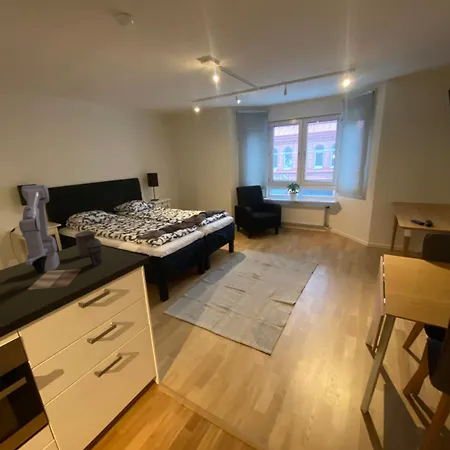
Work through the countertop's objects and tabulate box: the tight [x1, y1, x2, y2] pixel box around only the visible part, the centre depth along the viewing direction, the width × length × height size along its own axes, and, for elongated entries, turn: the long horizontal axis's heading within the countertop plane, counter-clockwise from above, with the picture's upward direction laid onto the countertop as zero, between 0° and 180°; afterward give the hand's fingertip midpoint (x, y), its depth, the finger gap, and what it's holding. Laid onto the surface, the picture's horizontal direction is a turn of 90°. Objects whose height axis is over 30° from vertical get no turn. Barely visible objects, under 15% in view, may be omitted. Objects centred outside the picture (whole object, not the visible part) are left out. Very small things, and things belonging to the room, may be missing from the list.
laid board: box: [49, 268, 82, 289], centre depth 118 cm, size 18×7×1 cm, turn 10°
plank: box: [26, 269, 67, 291], centre depth 117 cm, size 18×8×1 cm, turn 10°
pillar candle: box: [74, 230, 94, 259], centre depth 146 cm, size 10×10×15 cm
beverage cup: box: [87, 229, 103, 267], centre depth 131 cm, size 7×7×20 cm
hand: (41, 272), depth 114 cm, fingers closed
